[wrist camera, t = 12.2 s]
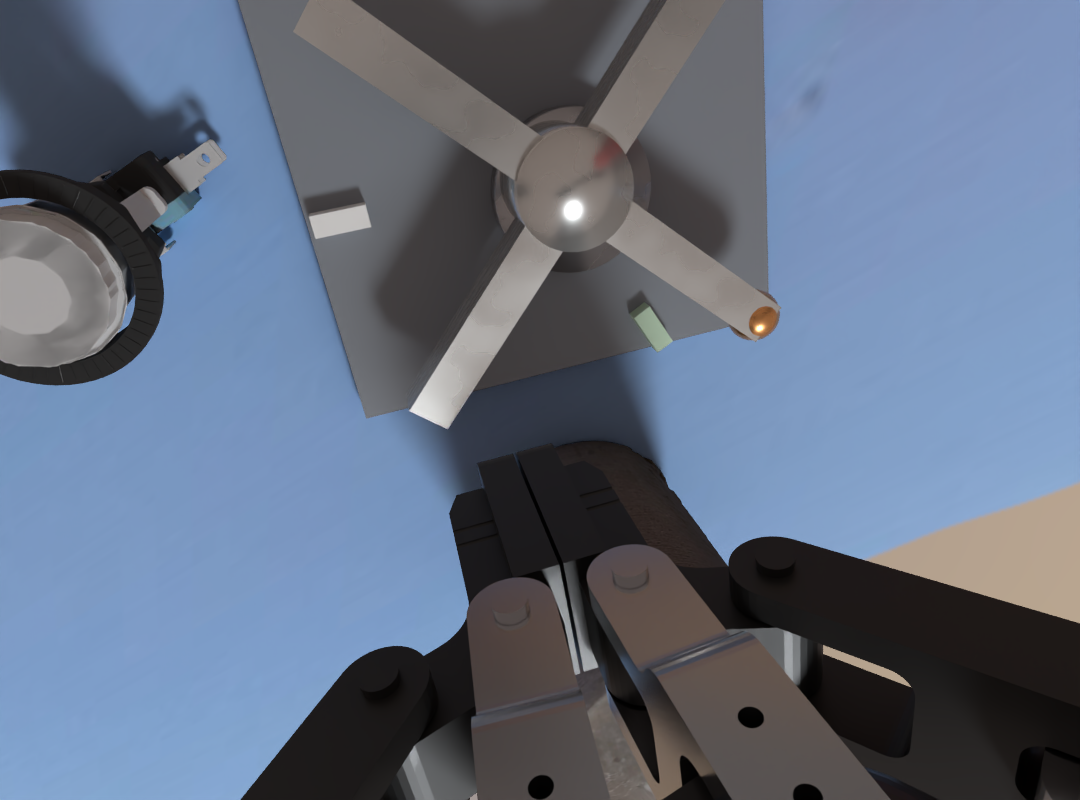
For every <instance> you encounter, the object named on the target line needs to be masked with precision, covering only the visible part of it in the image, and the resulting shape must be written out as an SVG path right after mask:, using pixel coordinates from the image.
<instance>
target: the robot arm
mask: <svg viewBox="0 0 1080 800" xmlns="http://www.w3.org/2000/svg"><path fill="white" fill-rule="evenodd" d="M515 457H516V460H515ZM515 457H514V455H513V454H510V455H506V456H502V457H498V458H495V459H491V460H487V461H483V462H480V463H477V468H478V473H479V477H480V481H481V485H482V489H478V490H474V491H471V492H467V493H463V494H460V495H457V496H456V498H455V500H454V503H453V505H452V508H451V510H450V513H449V515H450V519H451V524H452V528H453V532H454V537H455V542H456V546H457V551H458V555H459V560H460V564H461V569H462V573H463V578H464V582H465V587H466V591H467V596H468V600H469V607H468V611H467V618H466V620H465V622H464V624H463V625H462V627H461V628H460V630H459V631H458V632H457V633H456V634H455V635H454V636H453V637H452V638H451V639H450V640H449V641H447V642H446V643H444V644H443V645H441V646H440V647H438V648H437V649H435V650H433V651H432V652H430V653H428V654H426V655H425V656H423V655H422V654H421V653H419V652H418V651H416V650H414V649H412V648H409V647H403V646H391V647H384V648H380V649H377V650H374V651H372V652H369V653H367V654H366V655H364V656H362V657H360V658H359V659H357V660H356V661H355V662H353V663H352V664H351V665H350V666H349V667H348V668H347V669H346V670H345V671H344V672H343V673H342V674H341V676H340V677H339V678H338V679H337V681H336V682H335V683H334V684H333V686H332V687H331V688H330V689H329V691H328V692H327V693H326V694H325V696H324V697H323V698H322V699H321V701H320V702H319V703H318V704H317V705H316V707H315V708H314V709H313V710H312V712H311V713H310V714H309V715H308V717H307V718H306V719H305V720H304V722H303V723H302V724H301V725H300V727H299V728H298V729H297V730H296V732H295V733H294V734H293V735H292V736H291V738H290V739H289V740H288V741H287V743H286V744H285V745H284V746H283V748H282V749H281V750H280V751H279V753H278V754H277V755H276V756H275V758H274V759H273V760H272V761H271V763H270V764H269V765H268V766H267V767H266V769H265V770H264V771H263V772H262V774H261V775H260V776H259V777H258V779H257V780H256V781H255V782H254V784H253V785H252V786H251V787H250V789H249V790H248V791H247V792H246V794H245V795H244V796H243V797H242V799H241V800H470V797H471V796H473V795H474V794H476V793H477V797H478V800H611V799H610V795H609V792H608V788H607V784H606V780H605V777H604V773H603V769H602V765H601V762H600V758H599V754H598V750H597V747H596V743H595V739H594V735H593V732H592V728H591V724H590V720H589V717H588V713H587V709H586V705H585V702H584V698H583V695H582V692H581V689H579V687H578V684H577V680H576V676H575V675H576V674H579V673H580V669H579V664H578V659H577V655H578V657H579V660H580V663H581V665H582V668H583V670H584V672H585V671H588V670H591V669H595V668H598V667H599V669H600V672H601V674H602V677H603V679H604V681H605V687H606V692H607V698H608V704H609V707H610V709H611V711H612V713H613V715H614V717H615V719H616V721H617V723H618V725H619V727H620V729H621V731H622V733H623V735H624V737H625V739H626V741H627V743H628V745H629V747H630V749H631V751H632V753H633V755H634V757H635V759H636V761H637V763H638V765H639V767H640V768H641V770H642V772H643V774H644V776H645V778H646V780H647V782H648V784H649V786H650V788H651V790H652V792H653V794H654V796H655V798H656V800H1080V623H1076V622H1073V621H1069V620H1066V619H1063V618H1060V617H1056V616H1052V615H1049V614H1046V613H1042V612H1039V611H1036V610H1032V609H1029V608H1025V607H1022V606H1019V605H1015V604H1012V603H1008V602H1005V601H1002V600H998V599H995V598H991V597H988V596H984V595H981V594H978V593H974V592H971V591H967V590H964V589H961V588H957V587H954V586H950V585H947V584H944V583H940V582H937V581H933V580H930V579H927V578H923V577H920V576H916V575H913V574H909V573H906V572H903V571H899V570H896V569H892V568H889V567H886V566H882V565H879V564H875V563H872V562H869V561H865V560H862V559H858V558H855V557H851V556H848V555H845V554H841V553H838V552H834V551H831V550H828V549H824V548H821V547H817V546H814V545H811V544H807V543H804V542H800V541H797V540H793V539H789V538H785V537H761V538H756V539H752V540H749V541H747V542H745V543H743V544H741V545H740V546H739V547H737V548H736V549H735V550H734V551H733V553H732V554H731V556H730V559H729V567H710V568H690V567H683V566H678V565H675V564H674V563H673V562H672V560H671V559H670V558H669V557H668V556H667V555H666V554H665V553H663V552H662V551H660V550H658V549H656V548H653V547H650V546H648V544H647V543H646V541H645V540H644V538H643V536H642V535H641V533H640V531H639V530H638V528H637V527H636V525H635V523H634V522H633V520H632V518H631V517H630V515H629V514H628V512H627V510H626V509H625V507H624V505H623V504H622V502H620V499H619V497H618V496H617V494H616V492H615V491H614V489H612V486H611V484H610V483H609V481H608V479H607V478H606V476H605V474H604V473H603V471H601V470H600V469H598V468H596V467H594V466H593V465H591V464H589V463H587V462H586V461H580V462H577V463H573V464H569V465H566V466H563V464H562V462H561V460H560V458H559V456H558V454H557V452H556V450H555V448H554V447H553V445H552V444H551V443H550V444H547V445H543V446H539V447H535V448H532V449H528V450H524V451H520V452H517V453H515ZM823 645H825V646H828V647H830V648H833V649H836V650H838V651H841V652H844V653H846V654H849V655H852V656H854V657H857V658H860V659H863V660H865V661H868V662H871V663H873V664H876V665H879V666H881V667H884V668H887V669H889V670H891V671H893V672H895V673H897V674H898V675H900V676H901V677H903V678H904V679H905V680H906V681H907V682H908V683H909V684H910V686H911V687H912V688H911V687H908V686H906V685H903V684H901V683H898V682H895V681H892V680H890V679H887V678H885V677H882V676H879V675H877V674H874V673H871V672H868V671H866V670H863V669H861V668H858V667H856V666H853V665H851V664H848V663H845V662H843V661H840V660H837V659H835V658H832V657H830V656H827V655H824V654H823ZM576 652H577V654H576Z"/></svg>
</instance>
